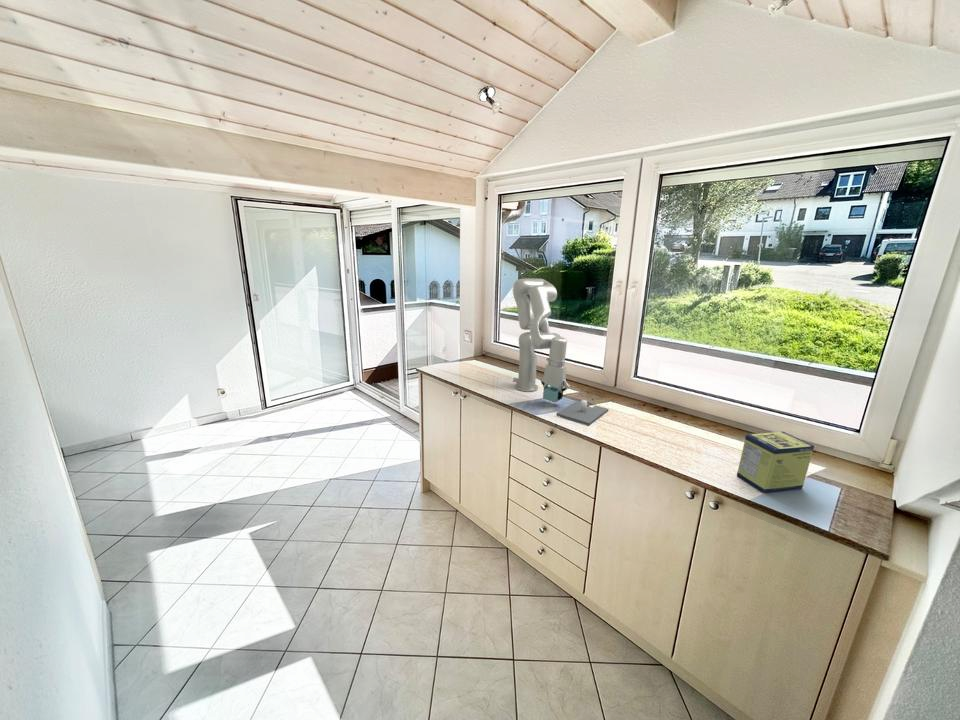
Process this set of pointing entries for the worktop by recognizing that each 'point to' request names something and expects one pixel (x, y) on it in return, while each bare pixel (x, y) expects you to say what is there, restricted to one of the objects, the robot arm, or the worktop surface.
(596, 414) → the board
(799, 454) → the protein box
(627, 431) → the worktop surface
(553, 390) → the spool collar
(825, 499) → the worktop surface
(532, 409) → the worktop surface
